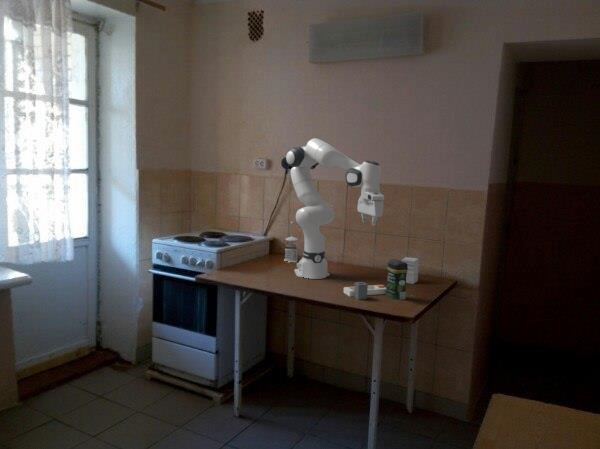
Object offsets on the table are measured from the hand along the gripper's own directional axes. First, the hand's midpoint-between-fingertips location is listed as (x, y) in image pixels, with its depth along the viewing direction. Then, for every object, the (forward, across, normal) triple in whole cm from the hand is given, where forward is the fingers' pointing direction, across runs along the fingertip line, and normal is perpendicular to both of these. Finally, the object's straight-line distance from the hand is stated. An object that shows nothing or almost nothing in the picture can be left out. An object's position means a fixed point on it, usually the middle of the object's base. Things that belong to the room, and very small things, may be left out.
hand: (368, 223), depth 234 cm
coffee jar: (+34, +13, +10) cm, 38 cm away
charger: (+34, +11, -8) cm, 37 cm away
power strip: (+34, +4, -2) cm, 34 cm away
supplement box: (+34, -14, +33) cm, 50 cm away
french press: (+34, -75, -14) cm, 84 cm away
